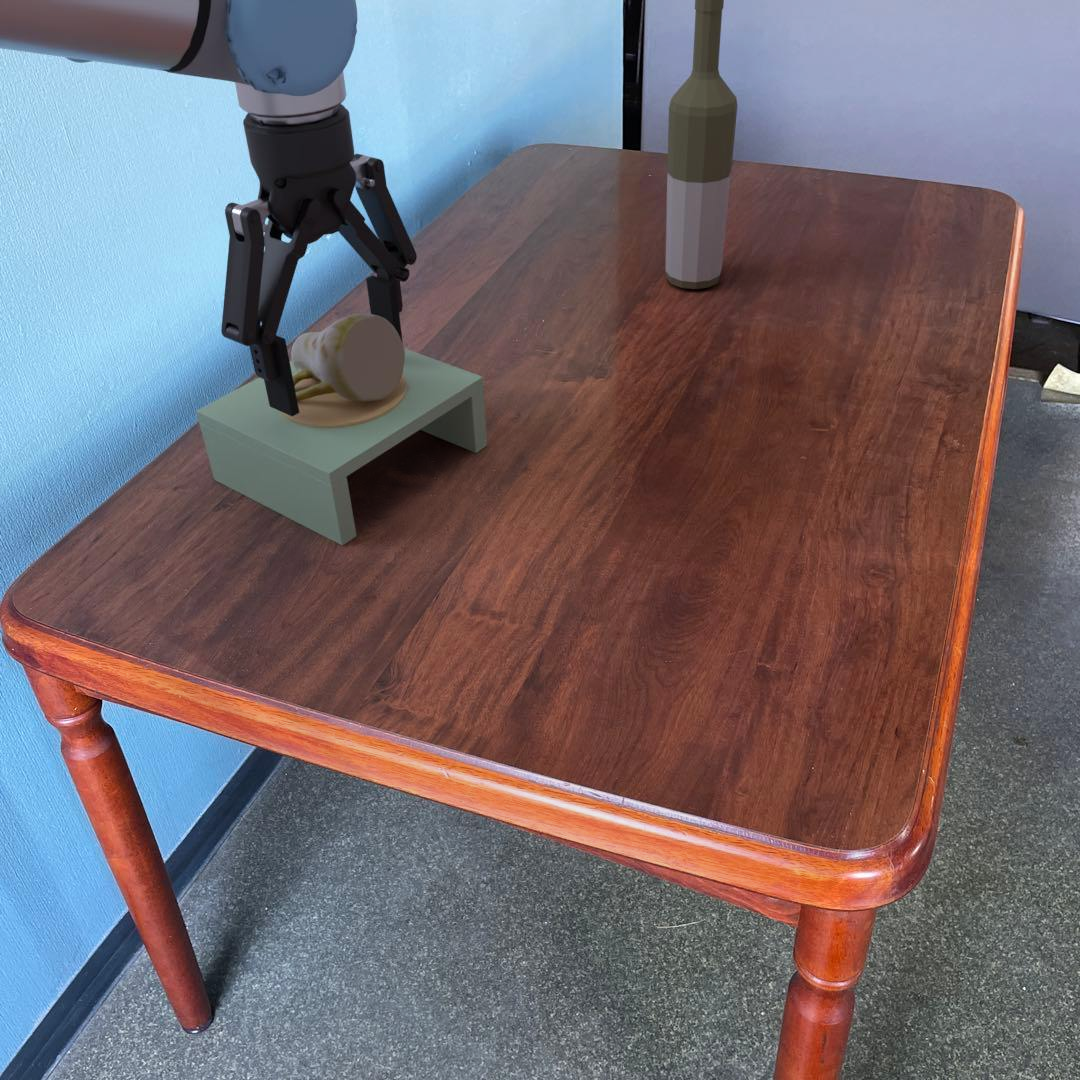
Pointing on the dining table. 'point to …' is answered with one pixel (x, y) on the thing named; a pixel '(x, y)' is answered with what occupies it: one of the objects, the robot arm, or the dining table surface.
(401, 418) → the shelf
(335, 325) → the mug
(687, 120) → the bottle
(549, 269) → the dining table surface
